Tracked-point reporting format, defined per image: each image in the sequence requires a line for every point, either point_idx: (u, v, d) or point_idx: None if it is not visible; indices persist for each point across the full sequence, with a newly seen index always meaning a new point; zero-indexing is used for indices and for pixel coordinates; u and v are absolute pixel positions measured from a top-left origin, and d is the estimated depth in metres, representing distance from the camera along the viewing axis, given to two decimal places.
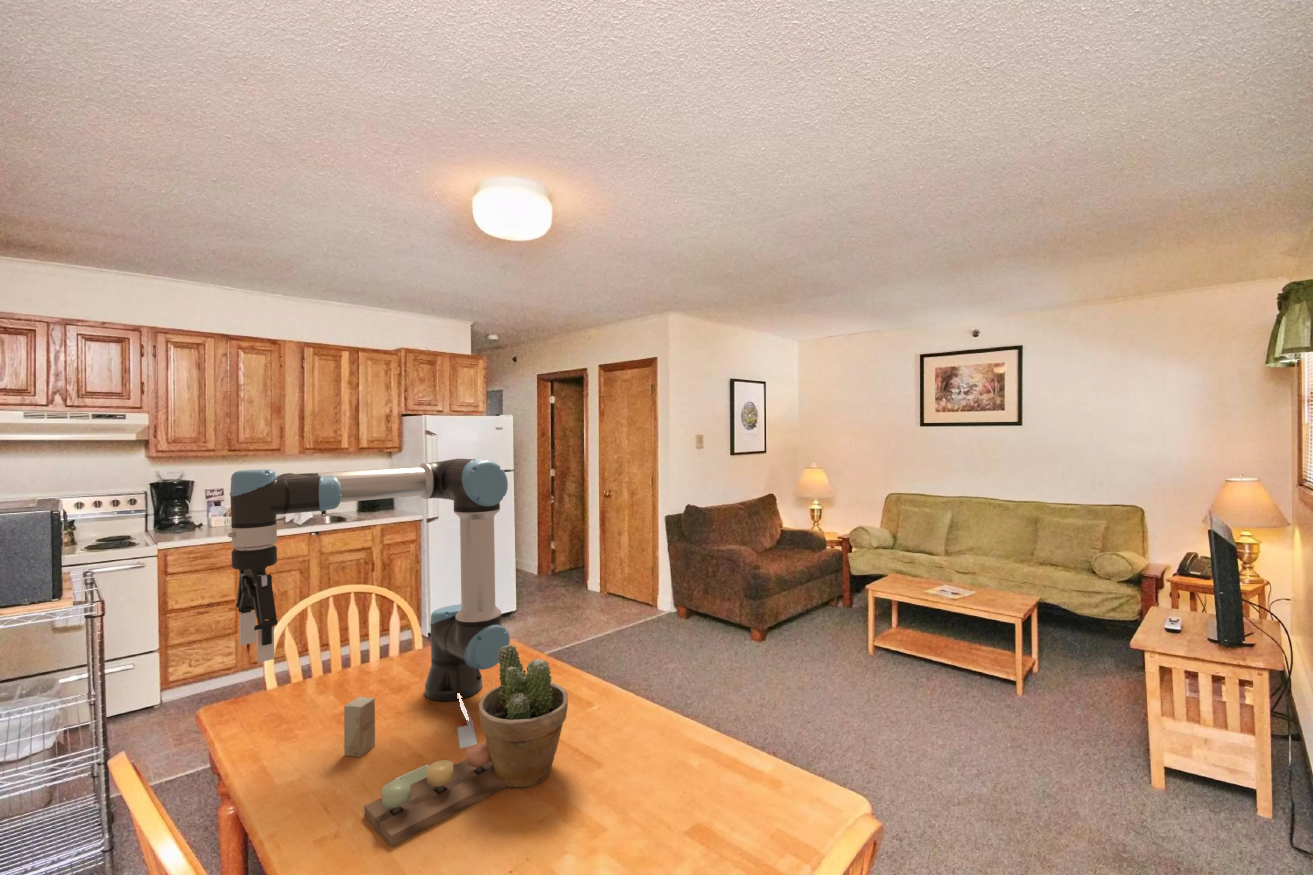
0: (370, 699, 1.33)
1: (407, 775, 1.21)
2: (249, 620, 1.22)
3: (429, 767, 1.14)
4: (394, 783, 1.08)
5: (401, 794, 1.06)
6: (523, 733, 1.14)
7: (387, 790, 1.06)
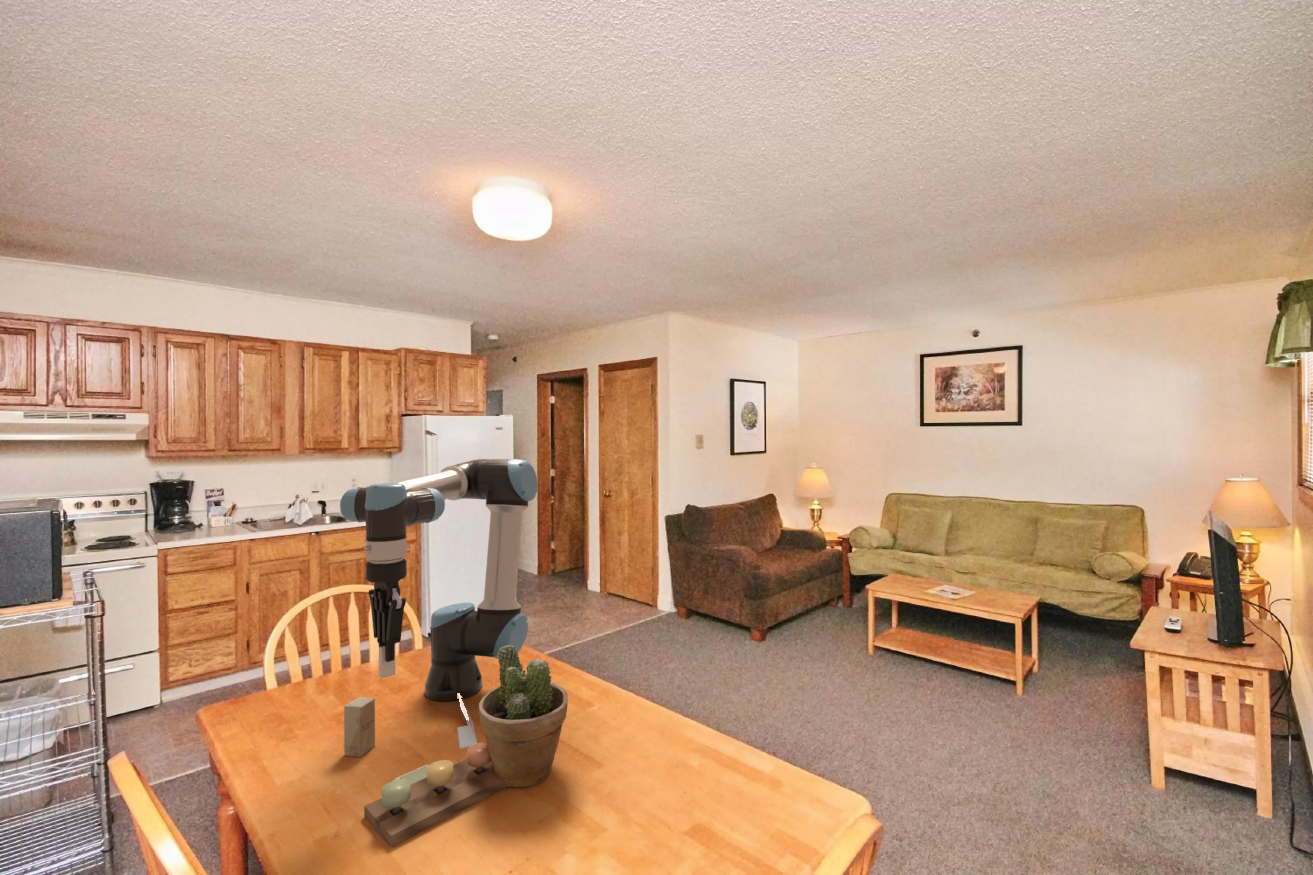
0: (370, 699, 1.33)
1: (407, 775, 1.21)
2: None
3: (429, 767, 1.14)
4: (394, 783, 1.08)
5: (401, 794, 1.06)
6: (523, 733, 1.14)
7: (387, 790, 1.06)
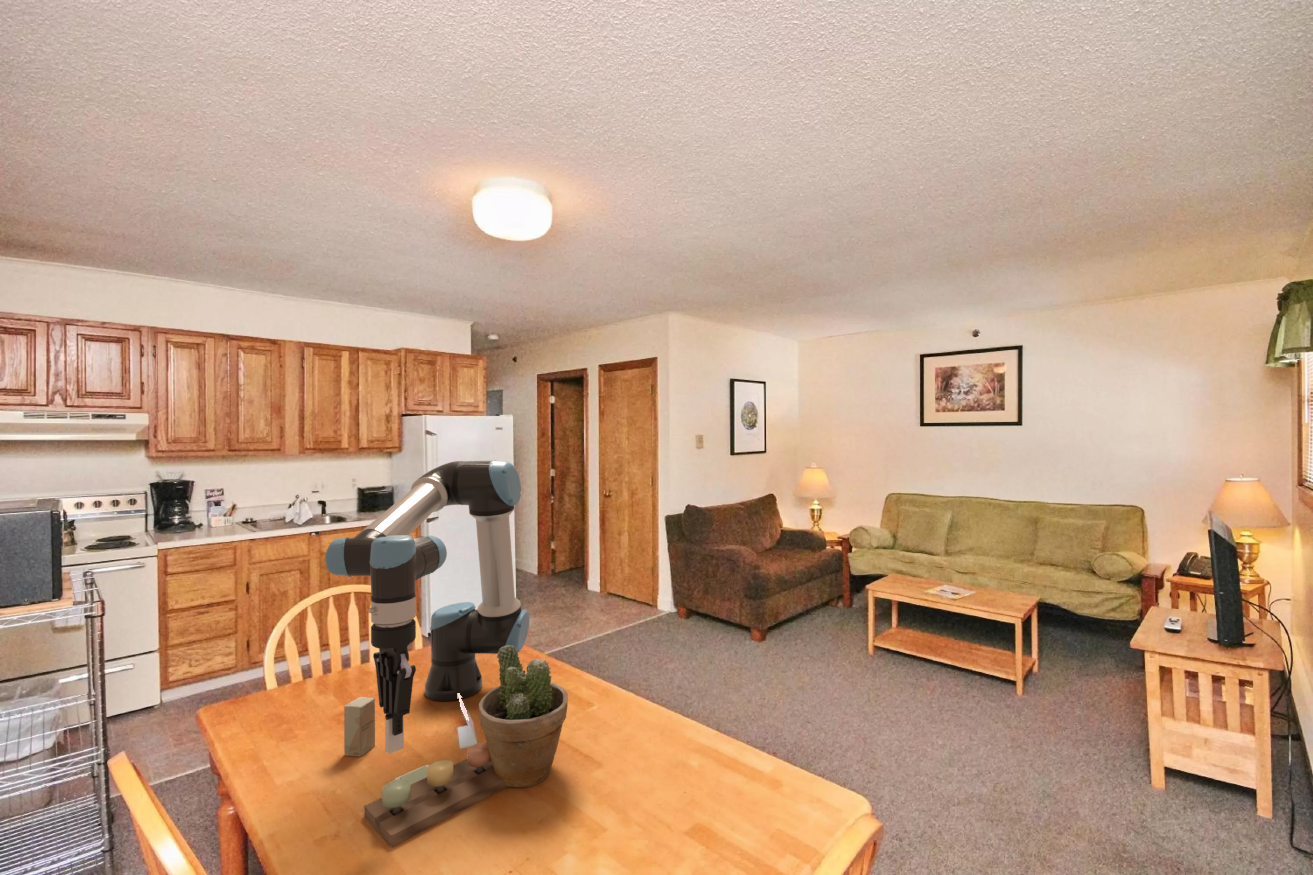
0: (370, 699, 1.33)
1: (407, 775, 1.21)
2: None
3: (429, 767, 1.14)
4: (394, 783, 1.08)
5: (401, 794, 1.06)
6: (523, 733, 1.14)
7: (387, 790, 1.06)
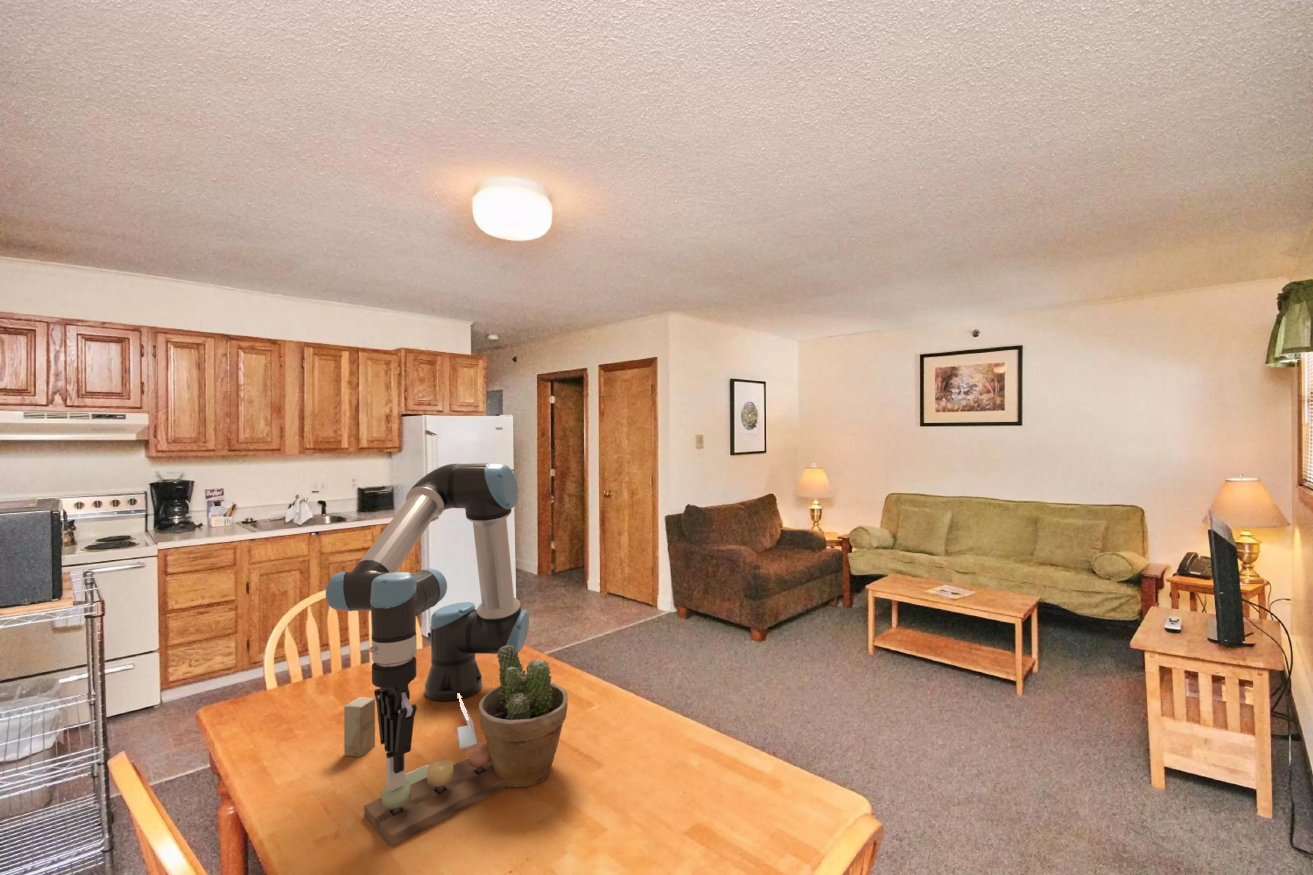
0: (370, 699, 1.33)
1: (407, 775, 1.21)
2: None
3: (429, 767, 1.14)
4: None
5: (401, 795, 1.06)
6: (523, 733, 1.14)
7: (387, 791, 1.06)
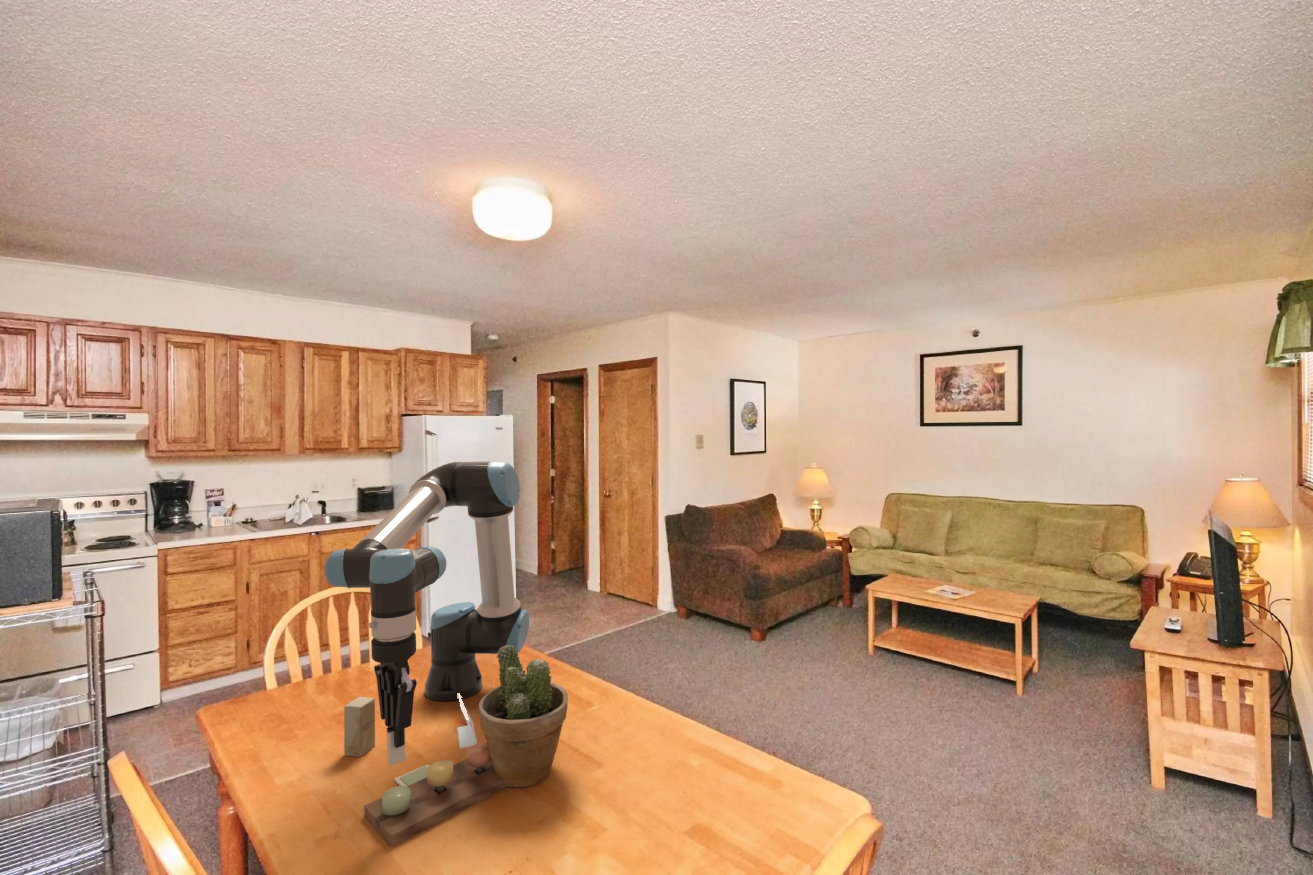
0: (370, 699, 1.33)
1: (407, 775, 1.21)
2: None
3: (429, 767, 1.14)
4: (394, 790, 1.08)
5: (402, 801, 1.06)
6: (523, 733, 1.14)
7: (387, 798, 1.06)
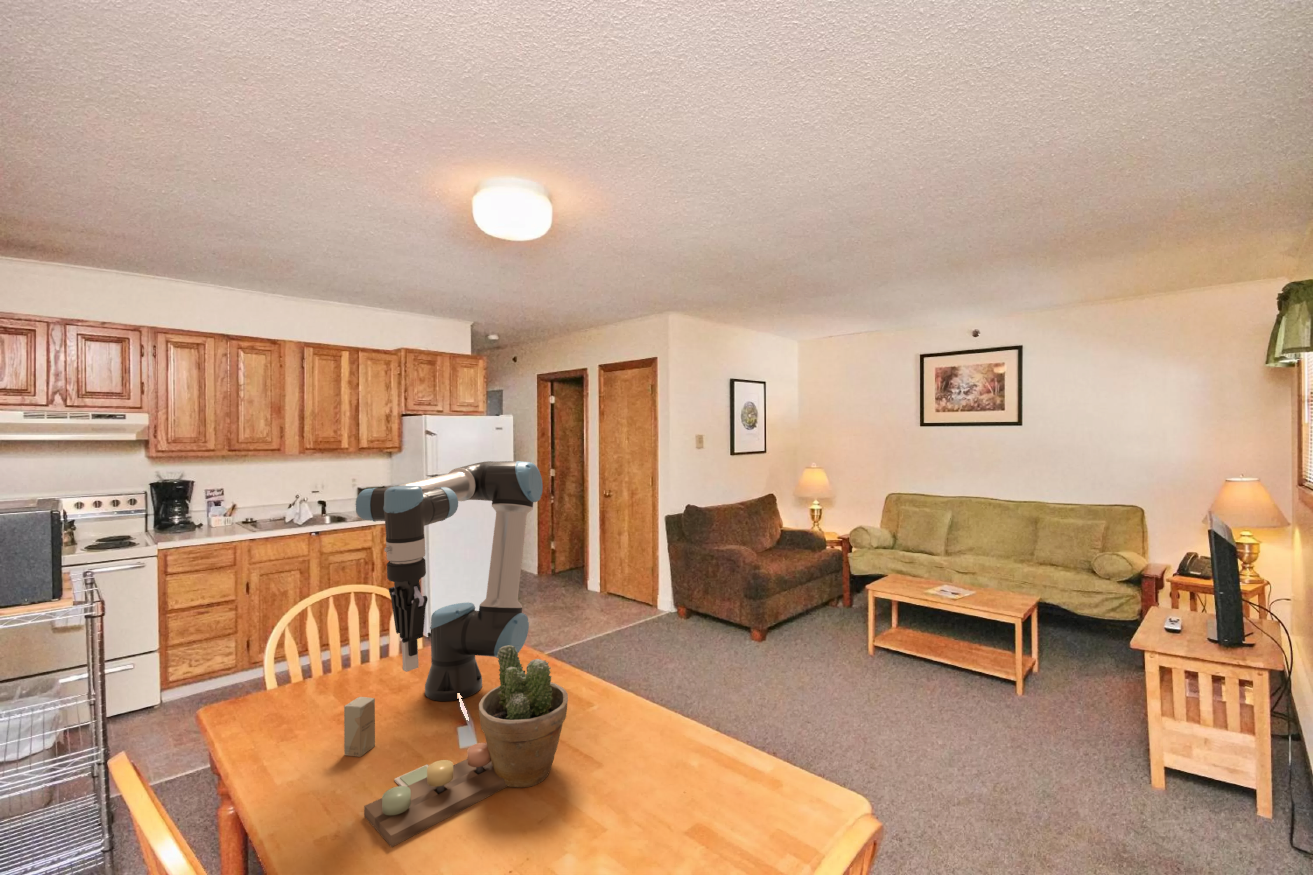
0: (370, 699, 1.33)
1: (407, 775, 1.21)
2: None
3: (429, 767, 1.14)
4: (394, 790, 1.08)
5: (402, 801, 1.06)
6: (523, 733, 1.14)
7: (387, 798, 1.06)
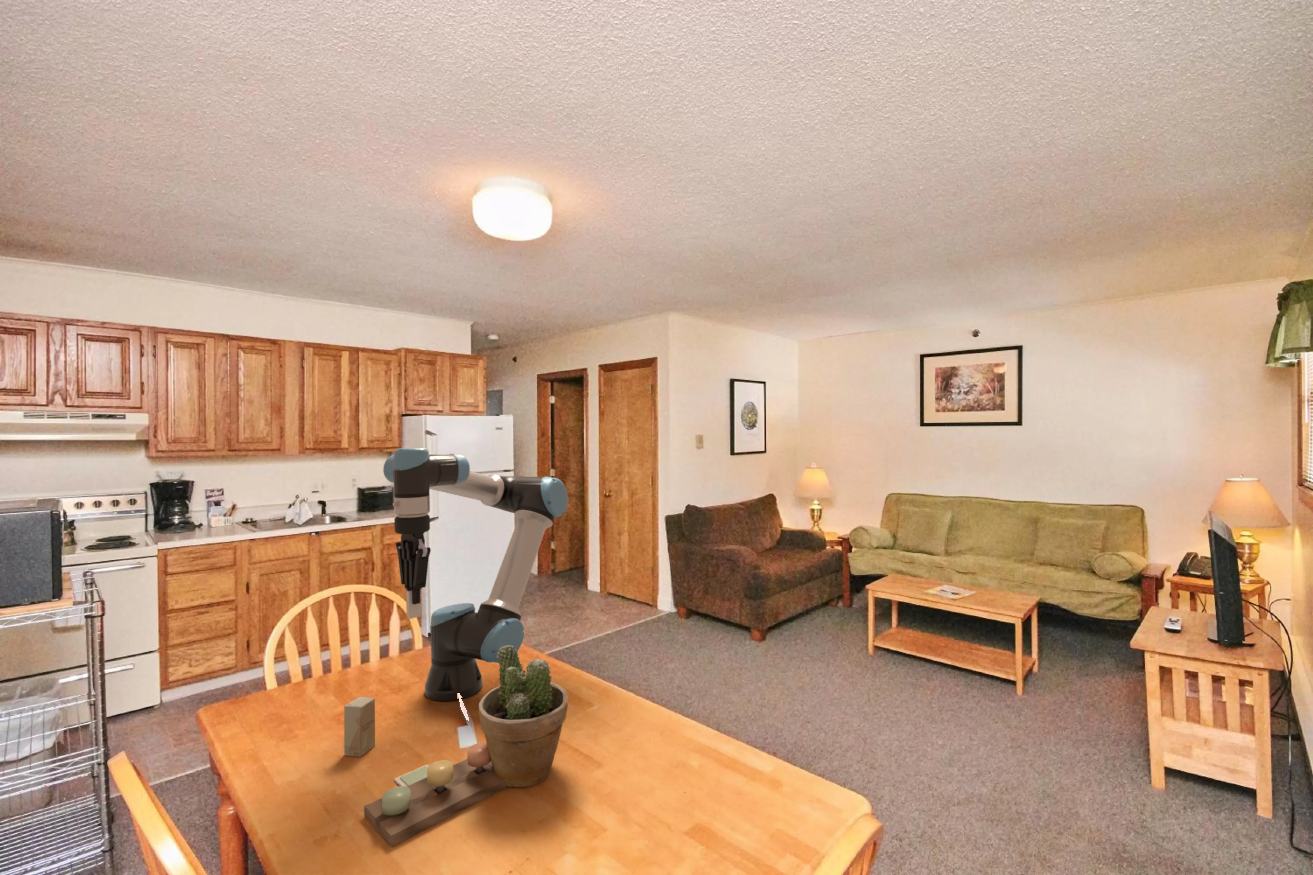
0: (370, 699, 1.33)
1: (407, 775, 1.21)
2: None
3: (429, 767, 1.14)
4: (394, 790, 1.08)
5: (402, 801, 1.06)
6: (523, 733, 1.14)
7: (387, 798, 1.06)
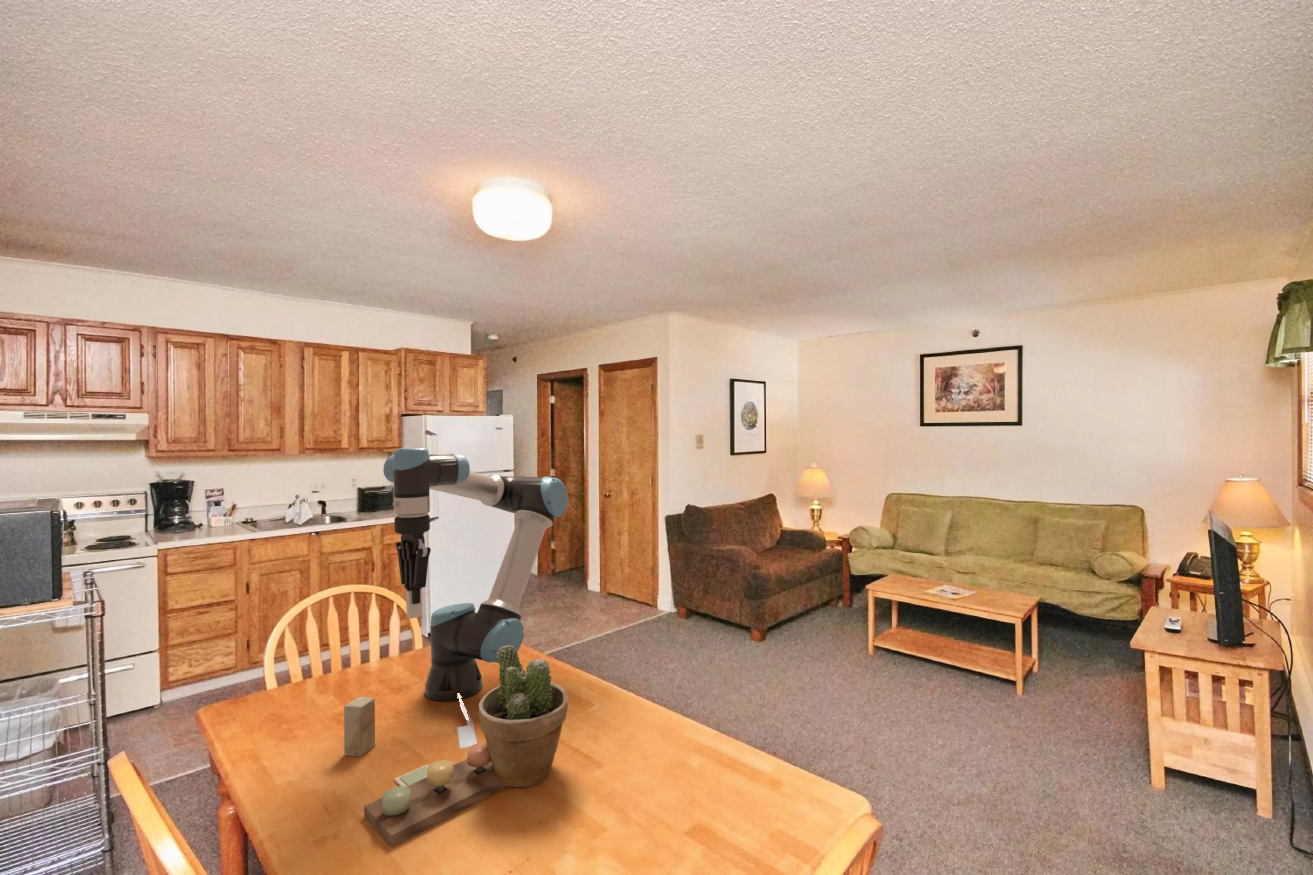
0: (370, 699, 1.33)
1: (407, 775, 1.21)
2: None
3: (429, 767, 1.14)
4: (394, 790, 1.08)
5: (402, 801, 1.06)
6: (523, 733, 1.14)
7: (387, 798, 1.06)
